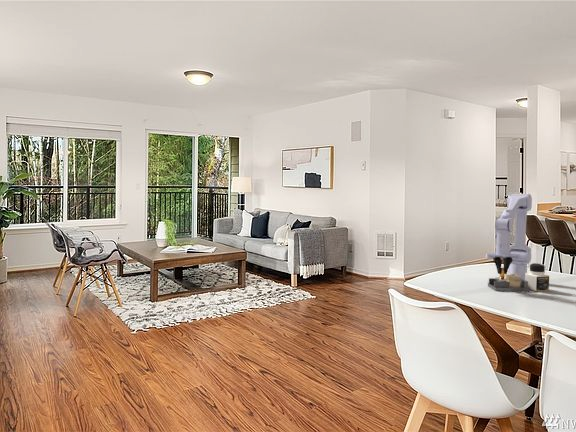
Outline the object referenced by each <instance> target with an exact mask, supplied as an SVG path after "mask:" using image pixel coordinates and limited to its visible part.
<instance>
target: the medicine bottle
mask: <svg viewBox="0 0 576 432" xmlns="http://www.w3.org/2000/svg"><path fill="white" fill-rule="evenodd" d="M545 272H546V265H545V264H542V263H534V262H533V263H530V264H529V272H527V273H526V274H525V280H526V281H528V288H529V291H533V292H535V293H536V292H547V291H549V289H550V275H548V274H546V273H545Z"/></svg>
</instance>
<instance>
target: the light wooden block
mask: <svg viewBox="0 0 576 432" xmlns="http://www.w3.org/2000/svg"><path fill="white" fill-rule="evenodd" d="M504 279H506V282H510V285H509V287H520V276H519V275H517V274H508V273H507V274H505V277H504Z"/></svg>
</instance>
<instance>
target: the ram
mask: <svg viewBox="0 0 576 432" xmlns="http://www.w3.org/2000/svg"><path fill="white" fill-rule="evenodd" d="M494 278H495V281H503V282H506V279H505V268H504V267H501V274H499V277H497V276H496V277H494Z"/></svg>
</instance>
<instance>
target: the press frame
mask: <svg viewBox="0 0 576 432" xmlns="http://www.w3.org/2000/svg"><path fill="white" fill-rule="evenodd" d="M509 285H510V282H503V281H495V277H491V278H490V277H489V278H488V282H487V287H488V288H490V289H492V290H494V291H495V292H522V293H523V292H525V293H526V292H529V291H530V290H529V288H528V281H526V280H524V279H522V278H520V287H509Z"/></svg>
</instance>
